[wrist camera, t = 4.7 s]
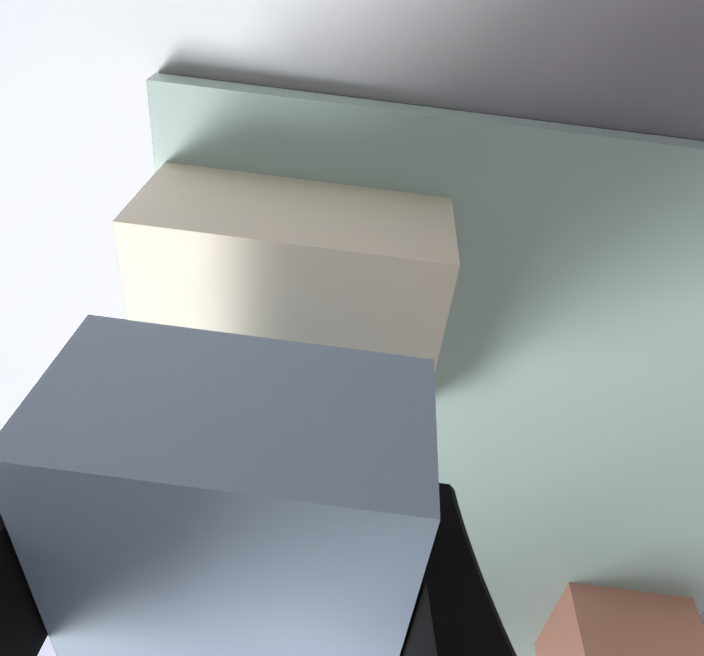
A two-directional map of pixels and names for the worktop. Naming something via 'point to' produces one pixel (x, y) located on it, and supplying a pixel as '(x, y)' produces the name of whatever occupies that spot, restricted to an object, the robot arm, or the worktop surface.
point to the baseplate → (525, 321)
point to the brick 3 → (621, 624)
